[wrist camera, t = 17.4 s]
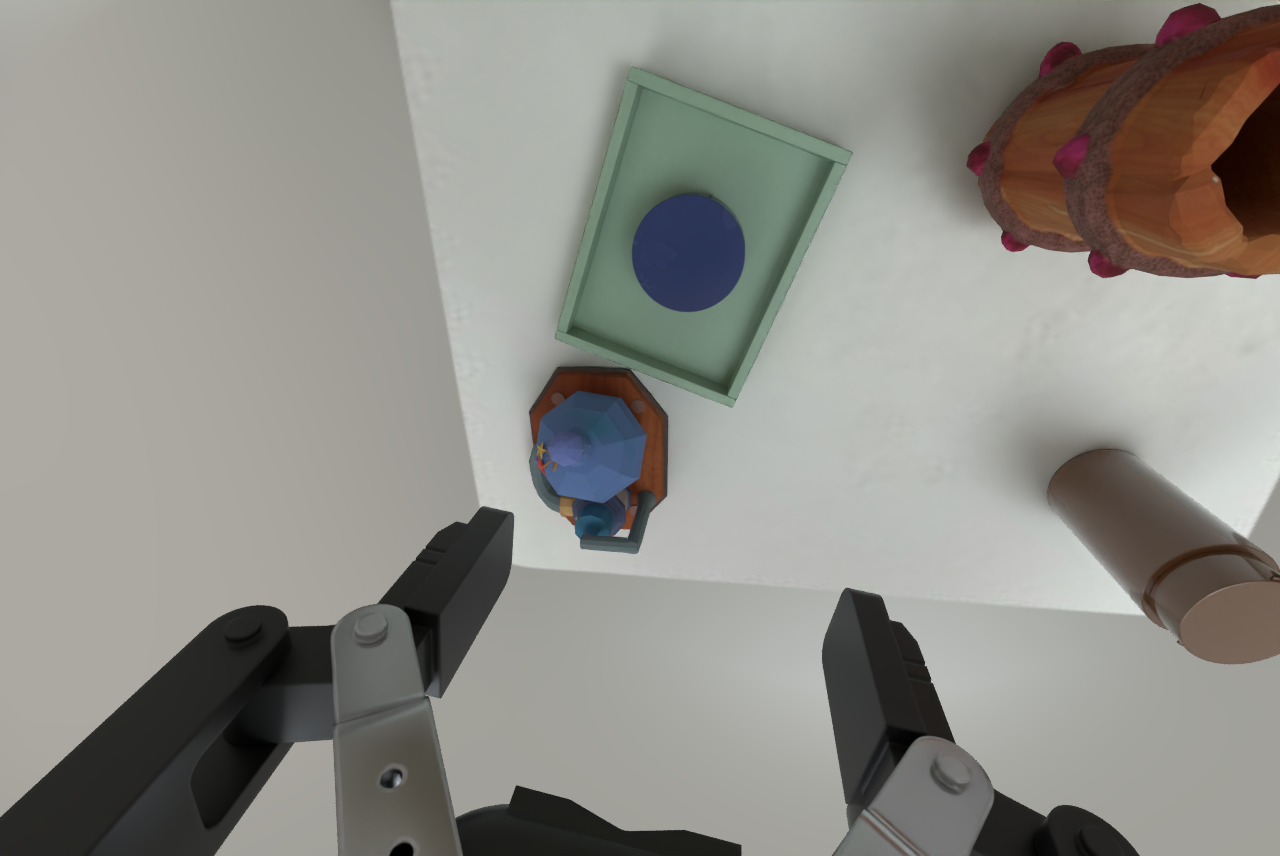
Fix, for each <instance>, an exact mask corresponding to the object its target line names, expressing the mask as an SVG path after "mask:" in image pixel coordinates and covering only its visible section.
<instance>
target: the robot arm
mask: <svg viewBox="0 0 1280 856" xmlns="http://www.w3.org/2000/svg"><path fill="white" fill-rule="evenodd" d="M513 531H514V515H513V513H512V512H508V511H503V510H499V509H494V508H490V507H485V506H483V507H481V508H480V509H479V510H478V512H477V513H476V514H475V515H474V517H473V518H472V519H471V520H470V522H469V523H468V524H465V523H461V522H455V523H453V524H451V525H450V526H448V527H446V528H444V529H442V530H441V531H439V532H438V533H437V534H436V535H435V536H434V537H433V539H432V540H431V541H430V542H429V543H428V544H427V546H426V549H423V550H422V552H421V553H420V554H419V555H418V556H417V558H416V560H415V561H413V562H412V564H411V565H410V566H409V567H408V568H407V570H405V572H404V573H403V574H402V575H401V576H400V577H399V579H398V580H397V581H396V582H395V583H394V585H393V586H392V587H391V588H390V589H389V590H388V592H387V593H386V594H385V595H384V596H383V598H382V599H381V600H380V601H379V603H377V604H373V605H368V606H364V607H361V608H358V609H356V610H354V611H352V612H350V613H348V614H347V615H345V616H344V617H343V618H342V619H341V620H339V621H338V623H337V624H336V625H329V626H304V627H303V626H302V627H289V626H288V621H287V617H286V615H285V614H284V613H283V612H282V611H281V610H279V609H277V608H275V607H271V606H264V605H262V606H261V605H256V606H249V607H244V608H240V609H236V610H234V611H231V612H229V613H226V614H225V615H222V616H221V617H219V618H217V619H216V620H214V621H213V622H212V623H210V624H209V625H208V626H207V627H206V628H205V629H204V630H203V631H201V632H200V633H199V634H198V635H197V636H196V637H195V638H194V639H193V640H192V641H191V642H190V643H188V644H187V645H186V646H185V647H184V648H183V649H182V650H181V651H180V652H179V653H178V654H177V655H176V656H174V657H173V658H172V659H171V660H170V661H169V662H168V663H167V664H166V665H165V666H164V667H162V668H161V669H160V670H159V671H158V672H157V673H156V674H155V675H154V676H153V677H152V678H151V679H150V680H148V681H147V682H146V683H145V684H144V685H143V686H142V687H141V688H140V689H139V690H138V691H137V692H136V693H135V694H133V695H132V696H131V697H130V698H129V699H128V700H127V701H126V702H125V703H124V704H122V705H121V706H120V707H119V708H118V709H117V710H116V711H115V712H114V713H113V714H112V715H111V716H109V717H108V718H107V719H106V720H105V721H104V722H103V723H102V724H101V725H100V726H99V727H98V728H96V729H95V730H94V731H93V732H92V733H91V734H90V735H89V736H88V737H87V738H86V739H85V740H83V741H82V743H80V744H79V745H78V746H77V747H76V748H75V749H74V750H73V751H72V752H70V753H69V755H67V756H66V757H65V758H64V759H63V760H62V761H61V762H60V763H59V764H58V765H56V766H55V767H54V768H53V769H52V770H51V771H50V772H49V773H48V774H47V775H46V776H45V777H43V778H42V779H41V780H40V781H39V782H38V783H37V784H36V785H35V786H34V787H33V788H32V789H31V790H30V791H28V792H27V793H26V794H25V795H24V796H23V797H22V798H21V799H20V800H19V801H17V802H16V803H15V804H14V805H13V806H12V807H11V808H10V809H9V810H8V811H7V812H6V813H4V814H3V815H2V817H0V856H214V855H215V854H216V852H217V850H218V849H219V848H220V846H221V845H222V844H223V842H224V841H225V839H226V838H227V837H228V835H229V834H230V832H231V831H232V830H233V828H234V827H235V825H236V824H237V823H238V821H239V820H240V818H241V817H242V816H243V814H244V813H245V811H246V810H247V809H248V807H249V806H250V804H251V803H252V802H253V800H254V799H255V797H256V796H257V794H258V793H259V792H260V790H261V789H262V787H263V786H264V785H265V783H266V782H267V780H268V779H269V778H270V776H271V775H272V773H273V772H274V771H275V769H276V768H277V766H278V765H279V764H280V762H281V761H282V759H283V758H284V757H285V755H286V754H287V752H288V751H289V749H290V748H291V747H292V745H293V744H294V742H305V741H318V740H332V739H333V748H334V769H335V770H334V771H335V790H336V791H335V792H336V815H337V837H338V856H741V845H739V844H735V843H732V842H728V841H724V840H720V839H717V838H713V837H709V836H705V835H701V834H698V833H694V832H690V831H686V830H666V831H665V830H664V831H624V830H621V829H619V828H617V827H616V826H614V825H612V824H611V823H609V822H607V821H605V820H604V819H602V818H600V817H599V816H597V815H595V814H593V813H592V812H590V811H588V810H587V809H585V808H583V807H582V806H580V805H578V804H576V803H575V802H573V801H572V800H569V799H566V798H562V797H558V796H554V795H551V794H547V793H543V792H539V791H535V790H532V789H528V788H524V787H520V786H516V787H515V790H514V793H513V796H512V799H511V801H510V804H500V805H494V806H488V807H483V808H480V809H477V810H473V811H470V812H468V813H465V814H463V815H461V816H458V817H456V818H455V816H454V810H453V806H452V801H451V797H450V792H449V787H448V782H447V777H446V773H445V768H444V763H443V759H442V754H441V749H440V744H439V739H438V735H437V730H436V726H435V721H434V716H433V711H432V706H431V702H430V699H429V697H428V696H425V695H430V696H433V697H437V698H442V696H443V694H444V692H445V691H446V689H447V687H448V685H449V683H450V682H451V680H452V678H453V677H454V675H455V673H456V671H457V670H458V668H459V666H460V664H461V663H462V661H463V659H464V657H465V655H466V654H467V652H468V650H469V649H470V647H471V645H472V643H473V642H474V640H475V638H476V636H477V634H478V633H479V631H480V629H481V628H482V626H483V624H484V622H485V620H486V619H487V617H488V615H489V614H490V612H491V610H492V608H493V606H494V605H495V603H496V601H497V600H498V598H499V596H500V594H501V592H502V591H503V589H504V587H505V585H506V583H507V580H508V577H509V574H510V569H511V564H512V548H513ZM822 663H823V669H824V676H825V681H826V687H827V694H828V699H829V706H830V712H831V717H832V723H833V730H834V735H835V741H836V747H837V754H838V760H839V765H840V772H841V778H842V783H843V789H844V796H845V802H846V804H850V805H854V806H858V807H862V808H865V809H864V810H863V811H862V813H861V814H860V815H859V817H858V818H857V820H856V821H855V823H854V824H853V826H852V827H851V828H850V830H849V832H848V833H847V834H846V836H845V837H844V839H843V840H842V842H841V843H840V845H839V846H838V847H837V849H836V850H835V852H834V853H833V855H832V856H1139V854H1138V853H1137V852H1136V850H1135V849H1134V848H1133V847H1132V845H1131V844H1130V843H1129V842H1128V841H1127V840H1126V839H1125V838H1124V837H1123V836H1122V835H1121V834H1120V833H1119V832H1118V831H1117V830H1116V829H1115V828H1113V827H1112V826H1111V825H1110V824H1108V823H1107V822H1105V821H1104V820H1103V819H1101V818H1100V817H1098V816H1096V815H1094V814H1093V813H1091V812H1089V811H1086V810H1084V809H1082V808H1079V807H1075V806H1070V805H1062V806H1057V807H1056V808H1054V809H1053V810H1052V811H1051V812H1050V813H1049V815H1048V816H1047V817H1045V816H1043V815H1041V814H1039V813H1037V812H1035V811H1034V810H1032V809H1029V808H1028V807H1026V806H1024V805H1022V804H1020V803H1018V802H1016V801H1014V800H1013V799H1011V798H1009V797H1006V796H1005V795H1003V794H1002V793H1000V792H998V791H997V790H995V789H994V788H993V786H992V784H991V781H990V779H989V777H988V776H987V774H986V772H985V771H984V769H983V768H982V767H981V765H980V764H979V763H978V762H977V761H976V760H975V759H974V758H973V757H972V756H971V755H970V754H969V753H968V752H966V751H965V750H964V749H962V748H961V747H959V746H958V745H956V743H955V741H954V738H953V735H952V733H951V730H950V727H949V725H948V722H947V719H946V717H945V714H944V711H943V709H942V706H941V703H940V701H939V698H938V695H937V693H936V690H935V687H934V685H933V683H931V677H930V674H929V672H928V669H927V667H926V666H925V661H924V659H923V656H922V653H921V651H920V648H919V645H918V643H917V641H916V640H915V639H914V638H913V636H912V635H911V634H910V633H909V632H908V630H907V629H906V628H905V627H904V625H903V624H902V623H900V622H895V621H891V620H890V619H889V616H888V613H887V610H886V607H885V604H884V601H883V599H882V597H881V596H880V595H878V594H873V593H869V592H864V591H860V590H855V589H851V588H845V589H844V591H843V592H842V594H841V597H840V599H839V602H838V604H837V607H836V609H835V612H834V614H833V617H832V619H831V622H830V625H829V627H828V630H827V632H826V635H825V639H824V642H823V649H822Z"/></svg>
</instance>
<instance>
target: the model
mask: <svg viewBox="0 0 1280 856" xmlns="http://www.w3.org/2000/svg"><path fill="white" fill-rule="evenodd" d="M529 415H530V422H531V429H532V436H533V443H534V447H533V449H532V452H531V456H530V460H529V463H530V471H531V476H532V480H533V484H534V487H535V489H536V491H537V493H538V495H539V497H540V498H541V499H542V500H543V502H544V503H545V504H546V505H547V507H549V508H550V509H552V510H554V511H556V512H559V513H560V514H561V516H562V517H566V518H567V519H568V520H569V521H570V522H571V523H572V525H575V534H576V535H577V536H578V537H579V538H580V539H581V540H580V548H581V549H589V550H600V551H612V552H624V553H631V554H636V553H638V551H639V548H640V545H641V542H642V539H643V536H644V532H645V528H646V525H647V521H648V517H649V513H650V512H651V511H652V510H653V509H654V508H655V507H656V506H657V505H658V504H659V503H660V502H661V501H662V500H663V499H664V498H665V497H666V496H667V463H668V416H667V414H666V413H665V412H664V411H663V409H662V408H661V407H660V405H659V404H658V403H657V402H656V400H655V399H654V398H653V396H652V395H651V394H650V393H649V391H648V390H647V389H646V388H645V387H644V386H643V384H642V383H641V382H640V381H639V380H638V379H637V377H636V376H635V375H634V374H633V373H632V371H631V370H630V369H616V368H600V367H557V368H556V370H555V372H554V373H553V375H552V377H551V378H550V380H549V381H548V383H547V385H546V386H545V388H544V390H543V391H542V393H541V394H540V396H539V397H538V399H537V400H536V402H535V403H534V405H533V406H532V408H531V409H530V411H529ZM620 529H631V530H630V533H629V536H628V539H627V538H624V537H612V536H614V535H616V533H617V532H618V531H619V530H620Z"/></svg>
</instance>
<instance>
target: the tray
mask: <svg viewBox="0 0 1280 856" xmlns="http://www.w3.org/2000/svg"><path fill="white" fill-rule="evenodd" d="M627 80H628V81H626V85H625V89H624V92H623V96H622V99H621V103H620V106H619V110H618V113H617V117H616V121H615V124H614V128H613V131H612V135H611V138H610V142H609V145H608V149H607V153H606V156H605V160H604V163H603V167H602V170H601V174H600V178H599V181H598V185H597V188H596V192H595V195H594V199H593V202H592V206H591V210H590V213H589V217H588V220H587V224H586V227H585V231H584V234H583V238H582V242H581V245H580V249H579V252H578V256H577V259H576V263H575V267H574V270H573V274H572V277H571V281H570V284H569V288H568V291H567V295H566V299H565V302H564V306H563V309H562V313H561V316H560V320H559V323H558V327H557V331H556V334H555V339H557V340H559V341H562V342H564V343H567V344H570V345H572V346H575V347H577V348H580V349H582V350H585V351H588V352H590V353H593V354H595V355H598V356H600V357H603V358H606V359H608V360H611V361H613V362H616V363H618V364H621V365H624V366H626V367H629V368H631V369H634V370H636V371H639V372H642V373H644V374H647V375H649V376H652V377H654V378H657V379H659V380H662V381H665V382H667V383H670V384H672V385H675V386H677V387H680V388H683V389H685V390H688V391H690V392H693V393H695V394H698V395H701V396H703V397H706V398H708V399H711V400H713V401H716V402H719V403H721V404H724V405H726V406H729V407H733V406H734V404H735V401H736V399H737V397H738V395H739V393H740V391H741V389H742V387H743V385H744V382H745V380H746V378H747V376H748V374H749V372H750V370H751V368H752V366H753V363H754V361H755V359H756V357H757V355H758V353H759V351H760V349H761V346H762V344H763V342H764V340H765V338H766V336H767V334H768V332H769V330H770V327H771V325H772V323H773V321H774V319H775V317H776V315H777V313H778V310H779V308H780V306H781V304H782V302H783V300H784V298H785V296H786V293H787V291H788V289H789V287H790V285H791V283H792V281H793V279H794V277H795V274H796V272H797V270H798V268H799V266H800V264H801V262H802V260H803V257H804V255H805V253H806V251H807V249H808V247H809V245H810V243H811V241H812V238H813V236H814V234H815V232H816V230H817V228H818V226H819V224H820V221H821V219H822V217H823V215H824V213H825V211H826V209H827V207H828V204H829V202H830V200H831V198H832V196H833V194H834V192H835V190H836V188H837V185H838V183H839V181H840V179H841V177H842V175H843V173H844V171H845V168H846V165H847V164H848V162H849V160H850V158H851V156H852V154H853V152H851V151H848V150H846V149H843V148H841V147H838V146H835V145H833V144H830V143H828V142H825V141H823V140H820V139H818V138H815V137H812V136H810V135H807V134H805V133H802V132H800V131H797V130H794V129H792V128H789V127H787V126H784V125H782V124H779V123H777V122H774V121H771V120H769V119H766V118H764V117H761V116H759V115H756V114H753V113H751V112H748V111H746V110H743V109H741V108H738V107H736V106H733V105H730V104H728V103H725V102H723V101H720V100H718V99H715V98H712V97H710V96H707V95H705V94H702V93H700V92H697V91H695V90H692V89H689V88H687V87H684V86H682V85H679V84H677V83H674V82H671V81H669V80H666V79H664V78H661V77H659V76H656V75H654V74H651V73H648V72H646V71H643V70H641V69H638V68H636V67H633V66H631V67H630V70H629V74H628V78H627ZM689 192H698V193H704V194H708V195H710V194H713V197H715V198H717V199H719V200H721V201H722V202H724V203H725V204H726V205H727V206H728V207H729V208H730V209H731V210H732V211H733V212H734V213H735V215H736V217H737V218H738V220H739V222H740V224H741V226H742V229H743V233H744V238H745V263H744V268H743V271H742V274H741V277H740V279H739V281H738V283H737V284H736V286H735V287H734V289H733V290H732V291H731V292H730V294H729V295H728V296H727V297H726V298H724V299H723V300H722V301H721V302H719V303H718V304H716V305H714V306H712V307H710V308H708V309H705V310H701V311H697V312H679V311H674V310H671V309H668V308H666V307H664V306H662V305H660V304H658V303H657V302H655V301H654V300H653V299H652V298H650V297H649V295H648V294H647V293H646V292H645V291H644V290H643V288H642V287H641V285H640V283H639V282H638V280H637V277H636V275H635V272H634V268H633V263H632V246H633V240H634V236H635V233H636V231H637V228H638V226H639V225H640V223H641V221H642V220H643V218H644V217H645V216H646V214H647V213H648V212H649V211H650V210H651V209H652V208H654V207H655V206H656V205H657V204H659V203H661V202H662V201H664V200H666V199H668V198H670V197H673V196H675V195H678V194H682V193H689Z"/></svg>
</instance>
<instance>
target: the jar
mask: <svg viewBox="0 0 1280 856" xmlns="http://www.w3.org/2000/svg"><path fill="white" fill-rule="evenodd" d="M1048 502H1049V505H1050V507H1051V508H1052V510H1053V511H1054V512H1055V513H1056V515H1057V516H1058V517H1059V518H1060V519H1061V520H1062V521H1063V522H1064V524H1065V525H1066V526H1067V527H1068V528H1069V529H1070V530H1071V531H1072V533H1073V534H1074V535H1075V536H1076V537H1077V538H1078V539H1079V540H1080V542H1081V543H1082V544H1083V545H1084V546H1085V547H1086V548H1087V549H1088V551H1089V552H1090V553H1091V554H1092V555H1093V556H1094V557H1095V558H1096V560H1097V561H1098V562H1099V563H1100V564H1101V565H1102V566H1103V567H1104V569H1105V570H1106V571H1107V572H1108V573H1109V574H1110V575H1111V576H1112V578H1113V579H1114V580H1115V581H1116V582H1117V583H1118V584H1119V585H1120V587H1121V588H1122V589H1123V590H1124V591H1125V592H1126V593H1127V594H1128V596H1129V597H1130V598H1131V599H1132V600H1133V601H1134V602H1135V603H1136V605H1137V606H1138V607H1139V608H1140V609H1141V610H1142V611H1143V612H1144V614H1145V615H1146V616H1147V617H1148V618H1149V619H1150V620H1151V621H1152V622H1153V623H1155V624H1157V625H1158V626H1160V627H1162V628H1164V629H1166V630H1169V631H1170V632H1171V633H1172V634H1173V635H1174V636H1175V637H1176V638H1177V640H1178V641H1177V643H1178V644H1180V645H1182V646H1184V647H1185V648H1186V649H1187V650H1188V651H1189V652H1190V653H1192V654H1193V655H1195V656H1197V657H1199V658H1201V659H1203V660H1206V661H1210V662H1214V663H1221V664H1244V663H1251V662H1256V661H1261V660H1264V659H1267V658H1270V657H1273V656H1276V655H1278V654H1280V569H1279V567H1278V565H1277V564H1276V562H1275V561H1274V560H1273V559H1272V558H1271V557H1270V556H1269V555H1268V554H1266V553H1265V552H1264V551H1262V550H1261V549H1260V548H1258V547H1257V546H1255V545H1254V544H1253V543H1252V542H1250V541H1249V540H1248V539H1246V538H1245V537H1244V536H1242V535H1241V534H1240V533H1238V532H1237V531H1236V530H1234V529H1233V528H1232V527H1230V526H1229V525H1228V524H1226V523H1225V522H1224V521H1222V520H1221V519H1220V518H1218V517H1217V516H1216V515H1214V514H1213V513H1211V512H1210V511H1209V510H1207V509H1206V508H1205V507H1203V506H1202V505H1201V504H1199V503H1198V502H1197V501H1195V500H1194V499H1193V498H1191V497H1190V496H1189V495H1187V494H1186V493H1185V492H1183V491H1182V490H1181V489H1179V488H1178V487H1177V486H1175V485H1174V484H1173V483H1171V482H1170V481H1169V480H1167V479H1166V478H1165V477H1163V476H1162V475H1161V474H1159V473H1158V472H1157V471H1155V470H1154V469H1153V468H1151V467H1150V466H1149V465H1147V464H1146V463H1145V462H1143V461H1142V460H1141V459H1139V458H1138V457H1136V456H1135V455H1133V454H1131V453H1129V452H1125V451H1121V450H1115V449H1102V450H1095V451H1091V452H1087V453H1084V454H1082V455H1079V456H1077V457H1075V458H1073V459H1072V460H1070V461H1068V462H1067V463H1066V464H1064V465H1063V466H1062V467H1061V468H1060V469H1059V470H1058V471H1057V472H1056V473H1055V475H1054V476H1053V478H1052V480H1051V481H1050V484H1049V487H1048Z"/></svg>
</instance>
